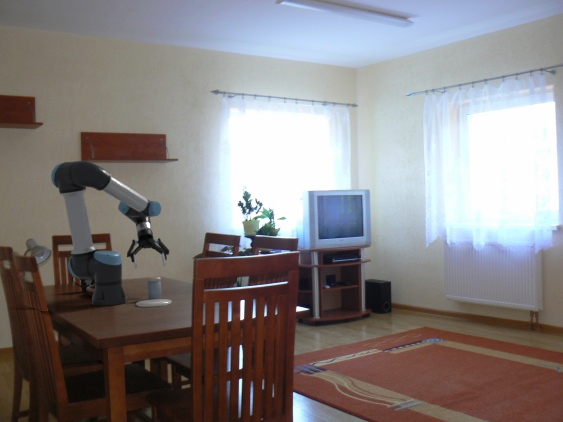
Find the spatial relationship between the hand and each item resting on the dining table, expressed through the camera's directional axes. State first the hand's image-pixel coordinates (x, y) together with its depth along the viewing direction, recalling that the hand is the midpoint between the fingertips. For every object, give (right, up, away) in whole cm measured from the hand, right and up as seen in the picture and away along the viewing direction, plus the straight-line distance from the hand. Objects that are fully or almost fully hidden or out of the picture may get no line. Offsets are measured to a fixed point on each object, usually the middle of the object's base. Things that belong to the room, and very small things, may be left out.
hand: (150, 265), depth 289 cm
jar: (+4, -15, -10) cm, 18 cm away
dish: (-26, -16, +13) cm, 33 cm away
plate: (+7, -15, -25) cm, 29 cm away
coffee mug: (-39, -16, +27) cm, 51 cm away
